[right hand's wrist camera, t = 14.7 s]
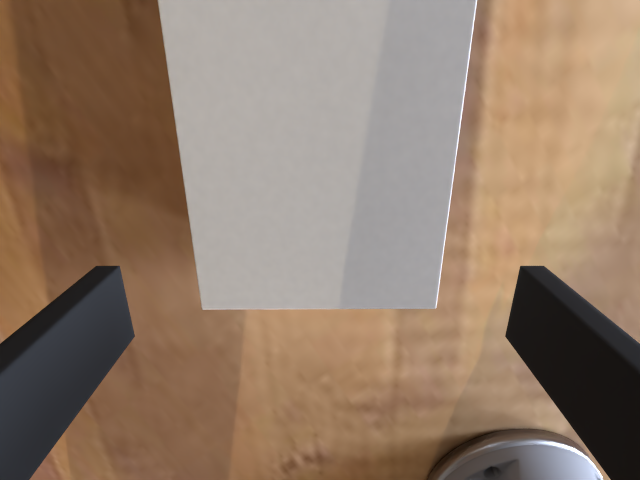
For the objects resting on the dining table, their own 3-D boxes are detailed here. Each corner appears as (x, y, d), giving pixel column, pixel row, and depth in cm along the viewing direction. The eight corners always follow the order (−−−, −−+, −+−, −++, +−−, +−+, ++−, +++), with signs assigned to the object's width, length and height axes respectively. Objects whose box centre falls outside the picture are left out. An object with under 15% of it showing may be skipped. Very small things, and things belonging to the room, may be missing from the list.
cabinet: (200, -134, 18) (116, -283, 11) (433, -134, 18) (515, -284, 11) (236, 241, 26) (201, 310, 18) (401, 240, 26) (436, 309, 18)
